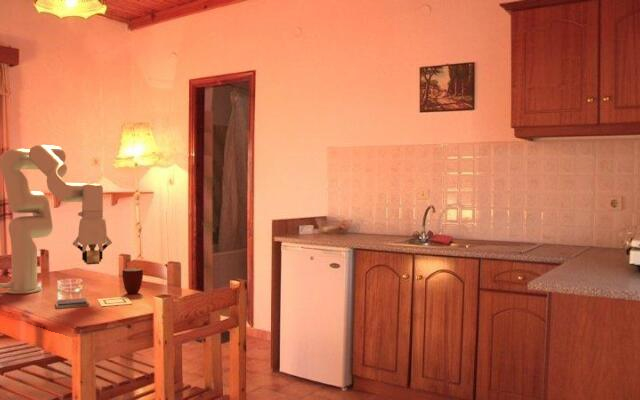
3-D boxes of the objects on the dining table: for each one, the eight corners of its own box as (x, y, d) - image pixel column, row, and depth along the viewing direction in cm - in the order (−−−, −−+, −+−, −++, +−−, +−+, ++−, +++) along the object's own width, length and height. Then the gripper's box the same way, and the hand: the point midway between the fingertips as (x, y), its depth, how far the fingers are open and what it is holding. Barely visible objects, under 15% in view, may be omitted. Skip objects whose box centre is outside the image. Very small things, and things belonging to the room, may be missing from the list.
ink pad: (56, 308, 205) (56, 304, 205) (55, 303, 213) (55, 300, 213) (89, 305, 210) (89, 301, 210) (86, 301, 218) (86, 297, 218)
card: (101, 306, 208) (101, 305, 208) (97, 299, 221) (97, 298, 221) (132, 304, 214) (132, 303, 214) (126, 297, 226) (126, 296, 226)
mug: (119, 291, 238) (119, 268, 238) (138, 290, 242) (138, 267, 242) (125, 296, 229) (125, 271, 229) (145, 294, 233) (145, 270, 233)
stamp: (87, 264, 218) (87, 242, 218) (85, 263, 222) (85, 241, 221) (99, 263, 220) (99, 242, 220) (97, 262, 224) (97, 241, 224)
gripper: (69, 216, 213) (69, 264, 213) (116, 215, 221) (116, 261, 221) (68, 215, 219) (68, 261, 220) (113, 214, 227) (113, 259, 228)
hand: (92, 261), depth 221 cm, fingers closed on stamp, 4 cm apart
